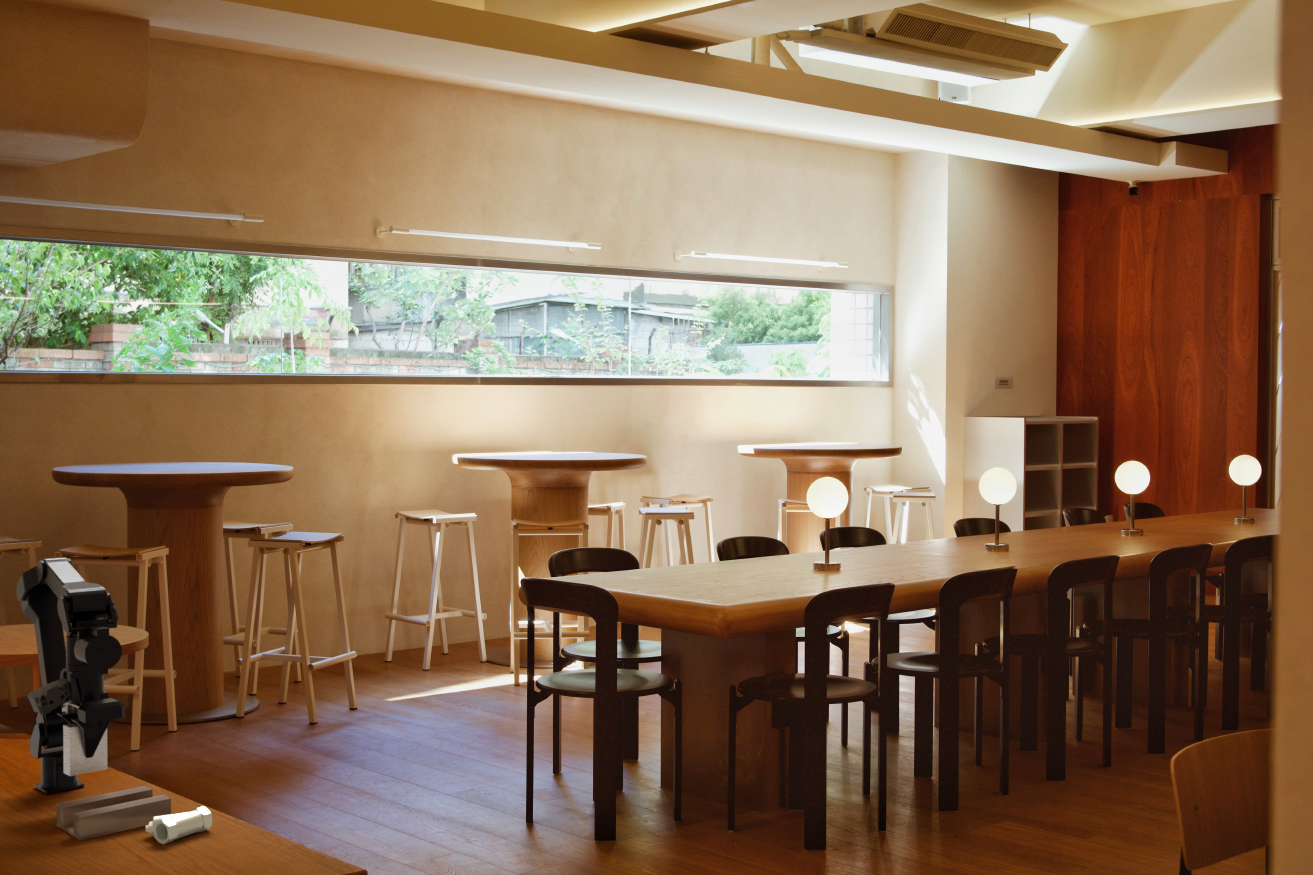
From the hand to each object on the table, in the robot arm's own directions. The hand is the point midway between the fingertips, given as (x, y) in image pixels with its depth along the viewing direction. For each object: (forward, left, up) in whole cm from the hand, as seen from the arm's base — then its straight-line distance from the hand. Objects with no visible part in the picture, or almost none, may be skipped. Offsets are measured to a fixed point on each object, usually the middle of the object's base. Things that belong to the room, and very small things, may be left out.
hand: (85, 755), depth 202 cm
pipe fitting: (+25, +5, -9) cm, 27 cm away
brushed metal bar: (0, 0, -3) cm, 3 cm away
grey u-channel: (+12, 0, -9) cm, 15 cm away
